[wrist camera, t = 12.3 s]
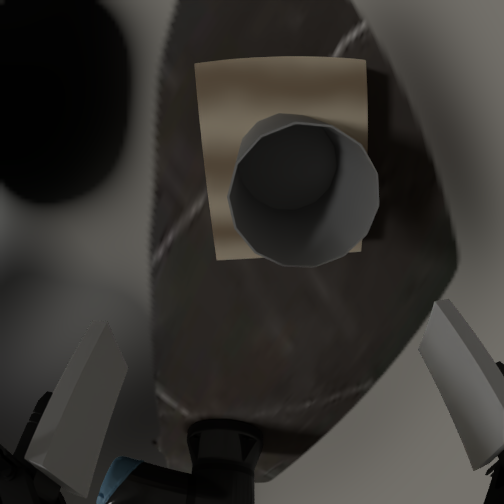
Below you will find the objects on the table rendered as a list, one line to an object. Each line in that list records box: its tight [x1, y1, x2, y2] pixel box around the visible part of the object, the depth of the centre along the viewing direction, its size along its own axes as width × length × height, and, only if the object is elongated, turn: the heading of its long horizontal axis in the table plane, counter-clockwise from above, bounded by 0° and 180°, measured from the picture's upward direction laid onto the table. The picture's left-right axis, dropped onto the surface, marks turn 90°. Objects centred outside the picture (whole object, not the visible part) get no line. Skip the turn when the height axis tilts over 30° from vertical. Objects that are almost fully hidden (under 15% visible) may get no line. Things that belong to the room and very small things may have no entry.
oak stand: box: [195, 56, 368, 260], centre depth 27 cm, size 18×14×4 cm
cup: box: [227, 113, 379, 267], centre depth 20 cm, size 8×8×10 cm
